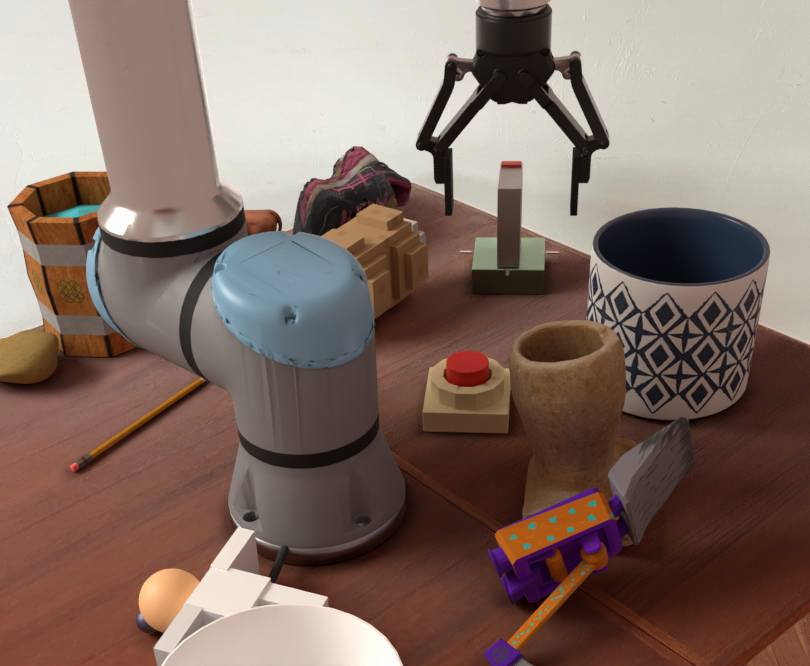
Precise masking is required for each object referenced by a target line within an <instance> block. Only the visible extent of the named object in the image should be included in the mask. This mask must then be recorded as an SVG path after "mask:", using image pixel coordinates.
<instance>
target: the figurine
mask: <svg viewBox="0 0 810 666" xmlns="http://www.w3.org/2000/svg"><path fill="white" fill-rule="evenodd" d="M258 555H259V554H258V553H257V546H256V539H255V531H253V530H249V529H244V528H240V527H238V528H237V529H236V531H234V532H233V533H232V535H231V536H230V538H229V539H228V540H227V542H226V543H225V544H224V545H223V547H222V548H221V550H220V551H219V553H218V554H217V555H216V557H215V558H214V560H213V561H212V562H211V564H210V567H209V569H208V570H207V572H206V573H205V574H204V575H203V577H202V579H201V580H200V581H199V580H198V579H197V578H196V577H195V576H194V575H193V574H192V573H190V572H188V571H186V570H184V569H180V568H175V567H174V568H164V569H161V570H158V571H156V572H154V573H153V574H151V575H150V576H149V577H148V578H147V579H146V580H144V582H143V584H142V586H141V588H140V591H139V595H138V607H139V611H138V613H137V615H136V618H135V623H136V627H137V628H138V630H139V631H141V632H142V633H144V634H149V635H151V634H154V633H156V632H160V633H162V635H161V636H160V638H159V639H158V640H157V641H156V643H155V645H154V646H153V653H154V658H155V662H156V666H161V665H162V663H163V662H164V661H165V659H166V658H167V656H168V655H169V654H170V653H171V652H172V651H173V650H174V649H175V648H176V647H177V646H178V645H179V644H180V643H181V642H182V641H183V640H185V639H186V638H187V637H189V636H190V635H192V634H193V633H194V632H196V631H197V630H199V629H200V628H202V627H204V626H206V625H208V624H210V623H212V622H214V621H216V620H218V619H219V618H222V617H225V616H227V615H230V614H233V613H236V612H239V611H242V610H246V609H250V608H255V607H260V606H264V605H275V604H286V603H293V604H313V605H318V606H324V607H329V608H330V606H329V597H328V596H326V595H322V594H318V593H314V592H311V591H310V592H309V591H307V590H306V591H305V590H302V589H299V588H295V587H289V586H286V585H282V584H279V583H275V584H274V583H271V578H269V576H265V575H261V571H260V563H259V556H258Z"/></svg>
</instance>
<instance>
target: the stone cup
mask: <svg viewBox="0 0 810 666" xmlns="http://www.w3.org/2000/svg"><path fill="white" fill-rule="evenodd" d="M507 355H508V356H507V363H508V364H507V365H508V368H509V372H510V387H511V391H510V393H511V397H512V400H513V402H514V405H515V407H516V410H517V412H518V415H519V418H520V419H521V422H522V424H523V427H524V430H525V432H526V435H527V438H528V442H529V444H530V446H531V449H532V453H533V455H532V456H531V457H530V460H529V462H528V465H527V472H526V473H527V474H526V481H525V488H524V499H523V500H524V502H523V506H522V511H521V515H522V519H524V518H526V517H528V516H530V515H533V514H535V513H537V512H539V511H542V510H544V509H546V508H548V507H550V506H553V505H555V504H557V503H559V502H562V501H564V500H566V499H568V498H571V497H573V496H575V495H577V494H579V493H582V492H584V491H586V490H588V489H591V488H593V487H595V488H598V490H599V492H600V493H604V495H605V498H606V500H607V502H608V501H609V500H610V499H611V498H612V497H613V494H612V490H611V486H610V482H609V478H608V474H609V471H610V470H611V468H612V467H613V466H614V465H615V464H616V462H617V461H618V460H619V459H620V458H621V457H622V455H623V454H625V453H626V452H628V451H629V450H631V449H632V448H634V447H635V446H637V445H639V443H636V442H635V441H634V440H632V439H630V438H625V437H621V436H617V434H618V430H619V424H620V420H621V418H622V414H623V407H624V403H625V397H626V365H625V354H624V349H623V346H622V344H621V341H620V339H619V337H618V336H617V334H616V333H615V332H614V331H613V330H612V329H611V328H610V327H608V326H606V325H604V324H601V323H598V322H594V321H587V320H586V319H567V320H556V321H550V322H545V323H541V324H539V325H535V326H534V327H532V328H530V329H527V330H526V331H524V332H522V333H521V334H519V336H517V337H516V338H515V339H514V340H513V341H512V344H511V346H510V347H509V350H508V354H507ZM615 519H616V521H617V520H618V519H619V517H618V516H617V517H616V518H615ZM621 542H622V546H623V548H625V547H630V546H632V545H634V544H633V542H632V541H631V539H630V538H629V536H628V534H626V535H625V536H624V537H623V538H622V539H621Z"/></svg>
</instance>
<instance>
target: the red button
mask: <svg viewBox="0 0 810 666" xmlns="http://www.w3.org/2000/svg"><path fill="white" fill-rule="evenodd" d="M487 357H488V356H487V355H486V354H484V353H482V352H480V351H475V350H461V351H460V350H459V351H456V352H453V353H452V354H450V355H449V356H448V357H447V358H448V359H447V361H446V376H447V380H448V382H449V383H450V384H453V385H456V386H459V387H475V386H478V385H482V384H485V383H486V382H487V381H488V378H489V360H488V358H489V357H488V358H487Z"/></svg>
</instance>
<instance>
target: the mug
mask: <svg viewBox="0 0 810 666" xmlns="http://www.w3.org/2000/svg"><path fill="white" fill-rule="evenodd" d="M110 191H111V189H110V184H109V180H108V176H107V171H70V172H67V173H64V174H60V175H57V176H54V177H53V176H52V177H50V178H47V179H43V180H41V181H37V182H34V183H31V184H30V183H29V184H27V185H26V186H25V187H24V188H23V189H22V190H21V191H20V192H19V193H18V194H17V195H16V196H15V198H14V199H13V200H11V202H9V204H8V205H7V206H6V208H7V209H8V212H9V215H10V217H11V219H12V222H13V224H14V226H15V229H16V231H17V235H18V238H19V242H20V246H21V248H22V253H23V258H24V263H25V269H26V275H27V277H28V281H29V283H30V285H31V287H32V290H33V292H34V295H35V298H36V300H37V304H38V307H39V310H40V314H41V318H42V325H43V331H45V332H50V333H53V334H55V335H56V336H57V338H58V340H59V348H58V352H60V353H61V354H62V355H63V356H65V357H91V358H93V357H95V358H113V357H116V356H118V355H120V354H123V353H126V352H128V351H131V350H133V349H135V348H138V347H137V346H135V345H134V344H132V343H131V342H129V341H128V340H127V339H126V338H125V337H124V336H122V335H121V334H120V333H118V332H117V331H115V330H114V329H113V328H112V327H111V326H109V325H108V324H107V323H106V321H105V320H104V319H103V318H102V316H101V315H100V314H99V312H98V311H97V309H96V307H95V305H94V303H93V301H92V298H91V295H90V292H89V289H88V284H87V277H86V262H87V255H88V251H89V250H92V249H93V247H94V245H95V240H94V239H93V237H94V234H95V232H96V230H97V229H98V227H99V224H98V217H97V212H98V209H99V207H100V205H101V204H102V203H103V201H104V200H105V199H106V198H107V196H108V195H109V194H110Z"/></svg>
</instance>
